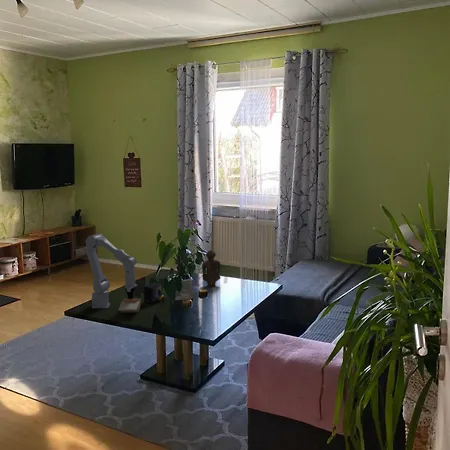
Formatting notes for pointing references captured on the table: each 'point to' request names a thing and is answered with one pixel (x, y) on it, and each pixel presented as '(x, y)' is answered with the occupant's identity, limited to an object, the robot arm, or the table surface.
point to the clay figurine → (211, 269)
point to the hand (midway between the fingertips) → (130, 299)
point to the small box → (152, 292)
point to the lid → (129, 304)
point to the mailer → (133, 310)
